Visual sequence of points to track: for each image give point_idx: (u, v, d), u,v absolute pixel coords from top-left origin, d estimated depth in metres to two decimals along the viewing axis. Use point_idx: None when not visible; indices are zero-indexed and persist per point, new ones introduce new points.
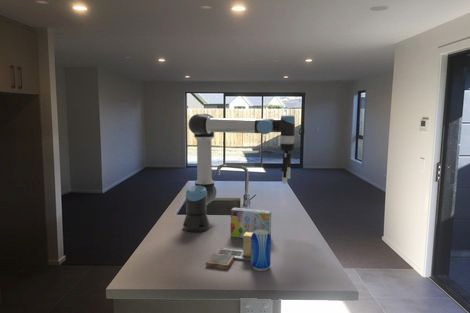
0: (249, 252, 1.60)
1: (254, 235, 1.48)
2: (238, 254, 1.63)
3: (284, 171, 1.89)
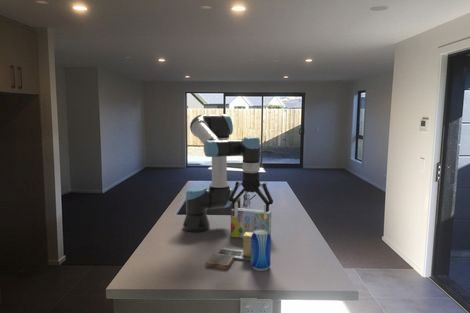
0: (249, 252, 1.60)
1: (254, 235, 1.48)
2: (238, 254, 1.63)
3: (232, 201, 1.61)
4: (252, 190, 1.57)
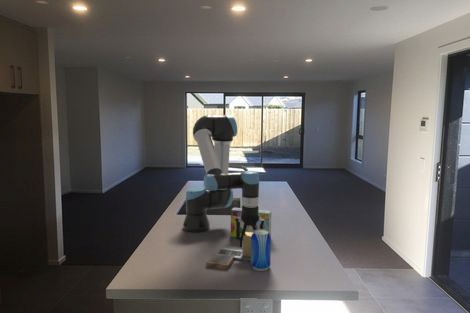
0: (249, 252, 1.60)
1: (254, 235, 1.48)
2: (238, 254, 1.63)
3: None
4: (251, 224, 1.59)
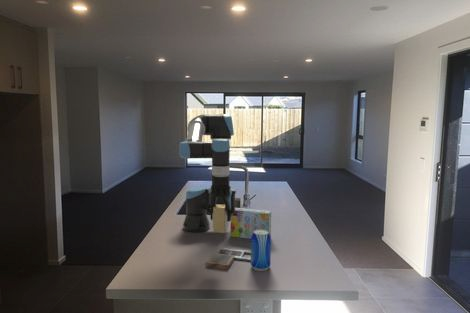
0: (219, 225, 1.51)
1: (254, 235, 1.48)
2: (238, 254, 1.63)
3: None
4: (222, 195, 1.50)
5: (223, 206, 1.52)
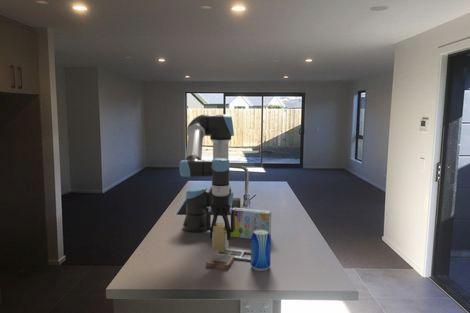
0: (219, 243, 1.52)
1: (254, 235, 1.48)
2: (238, 254, 1.63)
3: None
4: (221, 214, 1.51)
5: (223, 225, 1.53)
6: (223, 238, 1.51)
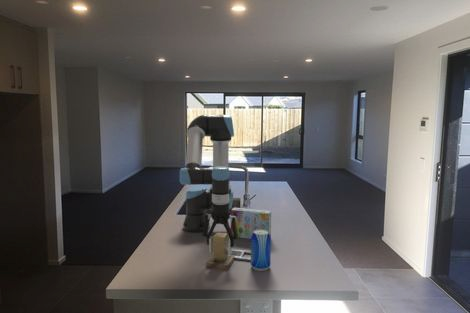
0: (219, 253, 1.52)
1: (254, 235, 1.48)
2: (238, 254, 1.63)
3: (207, 236, 1.56)
4: (221, 222, 1.52)
5: (223, 235, 1.53)
6: (223, 248, 1.52)
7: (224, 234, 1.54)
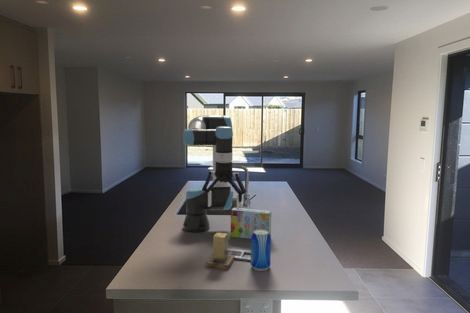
0: (219, 253, 1.52)
1: (254, 235, 1.48)
2: (238, 254, 1.63)
3: None
4: (225, 180, 1.57)
5: (223, 235, 1.53)
6: (223, 248, 1.52)
7: (224, 234, 1.54)
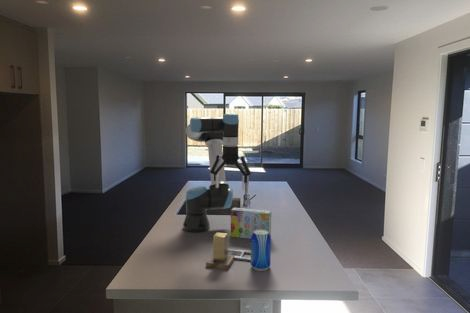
0: (219, 253, 1.52)
1: (254, 235, 1.48)
2: (238, 254, 1.63)
3: (214, 173, 1.76)
4: (231, 163, 1.71)
5: (223, 235, 1.53)
6: (223, 248, 1.52)
7: (224, 234, 1.54)
